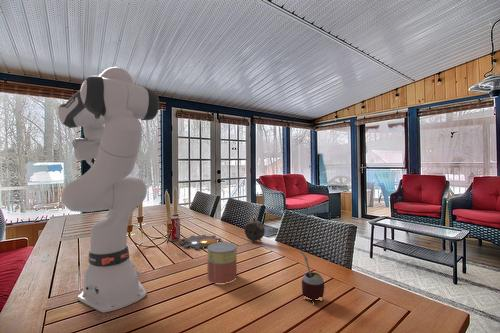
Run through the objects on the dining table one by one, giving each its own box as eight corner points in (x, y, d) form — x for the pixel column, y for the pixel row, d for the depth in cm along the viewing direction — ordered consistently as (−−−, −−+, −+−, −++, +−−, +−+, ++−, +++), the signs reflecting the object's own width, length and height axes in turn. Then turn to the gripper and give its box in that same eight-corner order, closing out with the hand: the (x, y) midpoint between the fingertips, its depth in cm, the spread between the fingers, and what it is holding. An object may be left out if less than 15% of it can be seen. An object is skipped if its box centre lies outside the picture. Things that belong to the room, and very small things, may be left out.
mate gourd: (325, 307, 78) (325, 259, 78) (299, 304, 79) (299, 257, 79) (322, 294, 85) (323, 250, 85) (298, 292, 87) (299, 248, 86)
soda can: (176, 242, 139) (176, 218, 138) (164, 241, 140) (164, 218, 140) (182, 238, 146) (182, 216, 145) (170, 237, 147) (170, 215, 147)
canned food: (235, 270, 104) (235, 241, 104) (238, 283, 93) (238, 251, 92) (207, 272, 102) (207, 242, 102) (207, 286, 91) (207, 253, 91)
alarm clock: (265, 242, 139) (265, 213, 138) (260, 245, 134) (260, 215, 134) (248, 239, 144) (248, 211, 144) (242, 241, 140) (242, 212, 140)
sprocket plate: (230, 242, 139) (230, 239, 139) (196, 253, 122) (196, 250, 122) (204, 234, 154) (204, 231, 154) (171, 243, 137) (171, 240, 137)
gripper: (74, 136, 104) (83, 168, 104) (121, 134, 121) (129, 162, 121) (67, 141, 108) (76, 172, 108) (114, 138, 125) (122, 165, 125)
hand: (105, 166), depth 115 cm, fingers open, 8 cm apart
